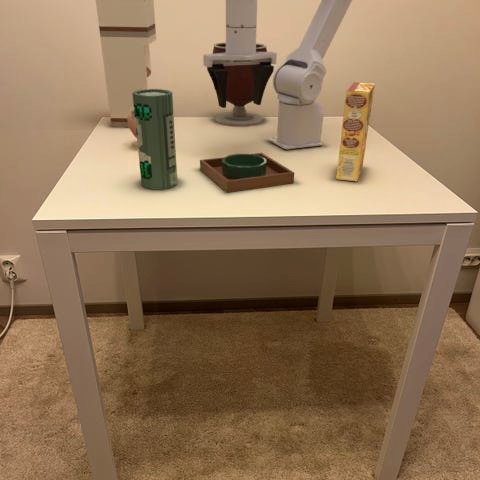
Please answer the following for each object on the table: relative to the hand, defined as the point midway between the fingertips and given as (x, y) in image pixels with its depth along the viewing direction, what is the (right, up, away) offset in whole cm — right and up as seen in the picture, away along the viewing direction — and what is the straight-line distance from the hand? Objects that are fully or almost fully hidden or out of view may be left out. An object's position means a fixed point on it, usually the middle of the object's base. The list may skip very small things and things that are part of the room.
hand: (239, 105), depth 99 cm
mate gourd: (0, +9, +29) cm, 30 cm away
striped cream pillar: (-26, +7, +26) cm, 38 cm away
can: (-14, -19, -11) cm, 26 cm away
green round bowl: (+1, -16, -7) cm, 17 cm away
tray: (+1, -16, -7) cm, 18 cm away
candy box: (+21, -15, -5) cm, 26 cm away
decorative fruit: (-20, -5, +9) cm, 22 cm away
